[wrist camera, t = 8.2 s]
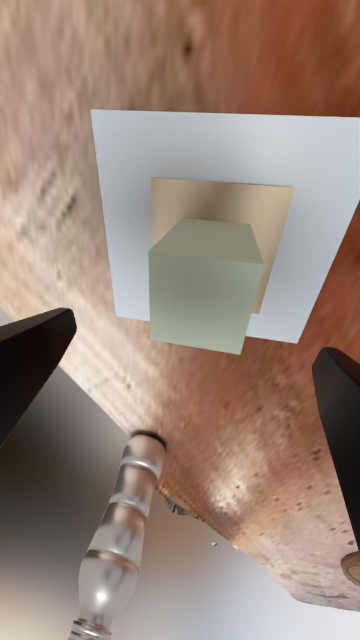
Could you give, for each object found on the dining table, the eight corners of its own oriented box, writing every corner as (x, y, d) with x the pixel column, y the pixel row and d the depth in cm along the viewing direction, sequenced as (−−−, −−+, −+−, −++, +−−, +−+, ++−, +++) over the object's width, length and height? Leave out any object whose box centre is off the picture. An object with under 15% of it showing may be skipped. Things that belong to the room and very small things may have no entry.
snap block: (250, 224, 15) (264, 264, 9) (236, 287, 18) (240, 354, 11) (182, 217, 16) (148, 251, 9) (179, 279, 18) (150, 339, 12)
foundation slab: (289, 186, 15) (295, 187, 14) (257, 304, 20) (258, 314, 19) (157, 177, 16) (151, 177, 15) (157, 291, 21) (153, 299, 20)
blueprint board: (390, 120, 13) (394, 118, 13) (296, 340, 22) (297, 343, 21) (93, 110, 15) (90, 109, 15) (117, 314, 24) (115, 316, 24)
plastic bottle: (155, 426, 34) (85, 663, 18) (175, 451, 37) (131, 675, 21) (121, 430, 37) (32, 642, 20) (143, 453, 39) (80, 655, 23)
